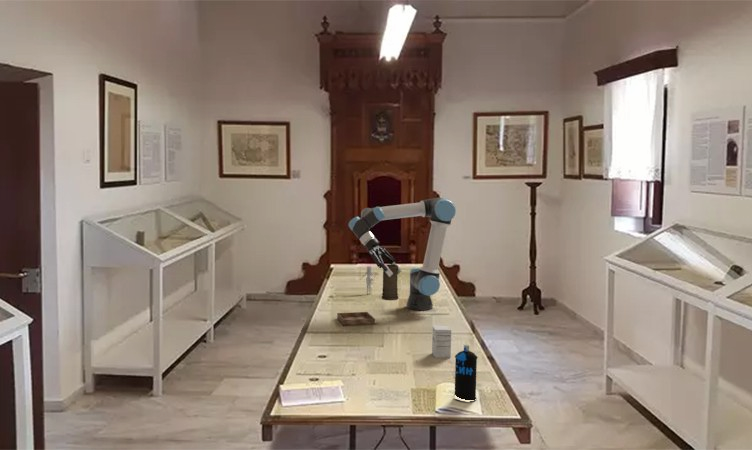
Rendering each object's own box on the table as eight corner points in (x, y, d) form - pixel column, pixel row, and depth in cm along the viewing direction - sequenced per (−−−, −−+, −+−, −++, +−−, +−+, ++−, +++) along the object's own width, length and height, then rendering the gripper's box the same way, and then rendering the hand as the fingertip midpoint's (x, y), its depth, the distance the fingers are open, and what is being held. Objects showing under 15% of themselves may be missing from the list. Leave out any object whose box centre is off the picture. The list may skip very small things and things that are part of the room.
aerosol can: (460, 393, 271) (461, 341, 269) (480, 397, 267) (481, 344, 265) (449, 399, 265) (451, 346, 262) (469, 404, 260) (471, 349, 258)
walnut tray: (367, 317, 392) (367, 311, 392) (374, 324, 376) (374, 318, 376) (337, 318, 388) (337, 313, 388) (343, 325, 372) (343, 320, 372)
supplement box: (431, 353, 324) (432, 325, 323) (447, 353, 325) (448, 325, 324) (434, 358, 317) (434, 329, 316) (450, 357, 318) (451, 329, 316)
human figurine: (377, 293, 456) (378, 265, 454) (378, 295, 452) (379, 266, 450) (358, 294, 454) (359, 265, 452) (359, 295, 451) (359, 266, 449)
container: (396, 301, 380) (397, 267, 378) (380, 300, 382) (380, 266, 380) (399, 297, 389) (400, 264, 387) (383, 296, 390) (383, 263, 388)
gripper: (375, 244, 399) (400, 275, 393) (355, 248, 381) (381, 281, 375) (384, 235, 396) (409, 266, 390) (363, 239, 378) (390, 272, 371)
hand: (395, 274), depth 382 cm, fingers closed on container, 8 cm apart
